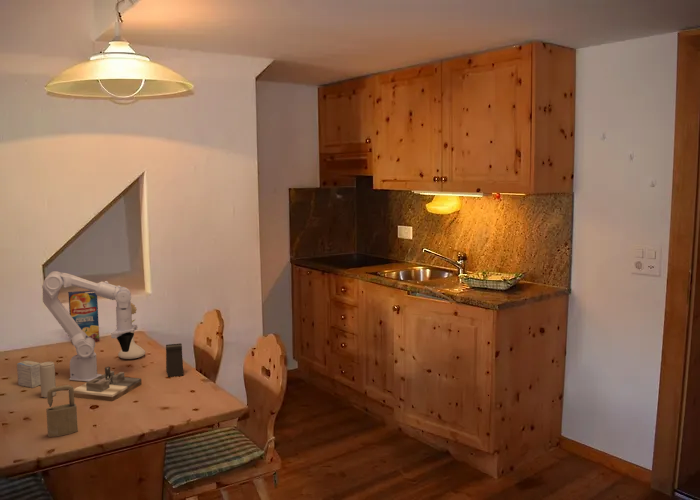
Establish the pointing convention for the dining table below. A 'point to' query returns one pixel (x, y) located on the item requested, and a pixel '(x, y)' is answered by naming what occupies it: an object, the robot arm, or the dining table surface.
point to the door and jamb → (107, 387)
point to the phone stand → (174, 360)
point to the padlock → (61, 414)
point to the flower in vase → (132, 345)
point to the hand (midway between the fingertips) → (125, 351)
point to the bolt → (106, 376)
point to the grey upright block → (28, 374)
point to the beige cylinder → (47, 378)
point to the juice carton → (85, 312)
